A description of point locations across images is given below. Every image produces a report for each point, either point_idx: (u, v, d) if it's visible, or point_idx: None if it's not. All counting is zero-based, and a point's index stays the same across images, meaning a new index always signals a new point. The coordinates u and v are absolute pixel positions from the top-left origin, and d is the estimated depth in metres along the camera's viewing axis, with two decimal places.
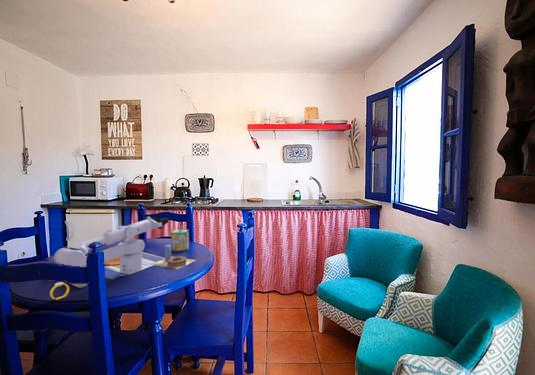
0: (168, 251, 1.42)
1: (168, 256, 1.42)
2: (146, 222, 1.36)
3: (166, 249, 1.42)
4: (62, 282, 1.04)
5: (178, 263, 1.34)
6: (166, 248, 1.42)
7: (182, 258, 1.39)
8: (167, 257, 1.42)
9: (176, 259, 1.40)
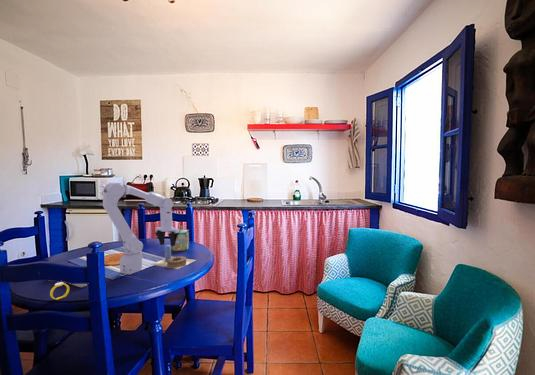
0: (168, 251, 1.42)
1: (168, 256, 1.42)
2: None
3: (166, 249, 1.42)
4: (62, 282, 1.04)
5: (178, 263, 1.34)
6: (166, 248, 1.42)
7: (182, 258, 1.39)
8: (167, 257, 1.42)
9: (176, 259, 1.40)
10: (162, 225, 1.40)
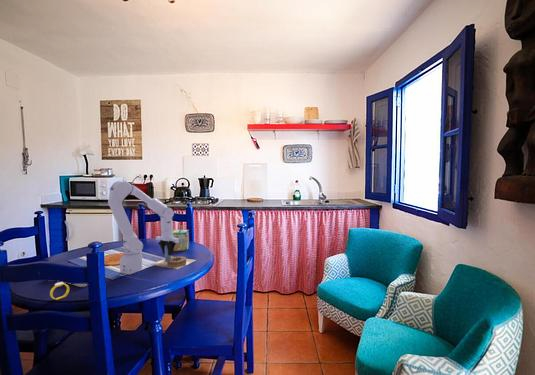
0: None
1: (168, 256, 1.42)
2: (172, 231, 1.44)
3: (166, 249, 1.42)
4: (62, 282, 1.04)
5: (178, 263, 1.34)
6: (166, 248, 1.42)
7: (182, 258, 1.39)
8: (167, 257, 1.42)
9: (176, 259, 1.40)
10: (162, 235, 1.40)
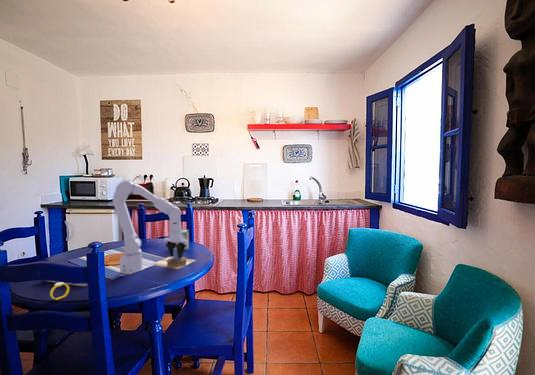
0: (177, 254, 1.36)
1: (177, 260, 1.36)
2: None
3: (175, 252, 1.36)
4: (62, 282, 1.04)
5: (178, 263, 1.34)
6: (175, 251, 1.36)
7: (182, 258, 1.39)
8: (176, 260, 1.36)
9: None
10: (171, 236, 1.34)
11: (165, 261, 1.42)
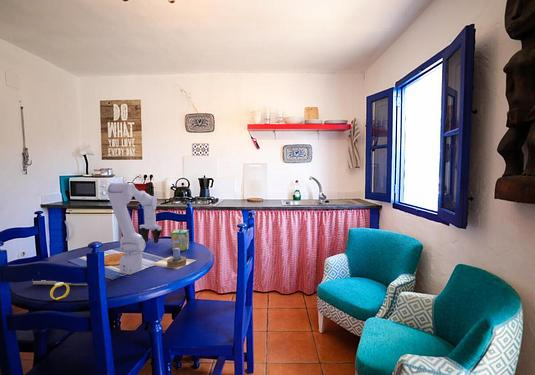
0: (177, 254, 1.36)
1: (177, 260, 1.36)
2: (155, 220, 1.48)
3: (175, 252, 1.36)
4: (62, 282, 1.04)
5: (178, 263, 1.34)
6: (175, 251, 1.36)
7: (182, 258, 1.39)
8: (176, 260, 1.36)
9: None
10: (145, 223, 1.45)
11: (165, 261, 1.42)
